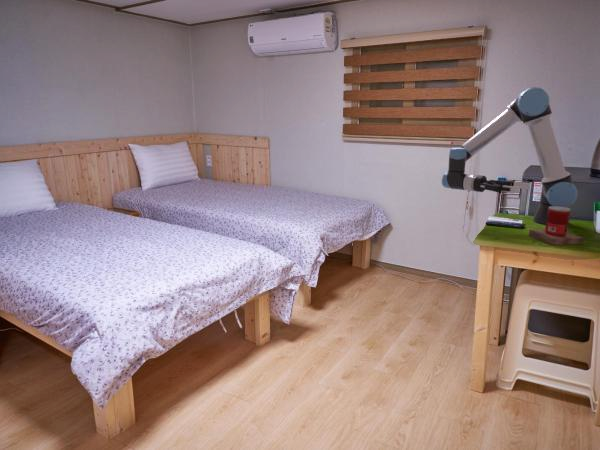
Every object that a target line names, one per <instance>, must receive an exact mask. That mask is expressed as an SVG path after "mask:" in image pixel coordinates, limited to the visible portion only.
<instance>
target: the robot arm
mask: <svg viewBox="0 0 600 450" xmlns="http://www.w3.org/2000/svg"><path fill="white" fill-rule="evenodd" d="M552 115H553V111H552V108H551V105H550V96H549V94H548V93H547V91H545V90H544V89H543V88H540V87H535V86H532V87H529V88H527V89H524V90H523V91H522V92H520V93H519V94H518V96H517V97H516V98H515V99H514V100H513V101H511V103H510V104H508V105H507V107H506V110H504V111H503V112H502V113H500V115H498V116H496V117H495V118H494V119H493V120H491V122H489V123H488V124H486V126H484V127H483V128H481V129H480V130H479V131H478V132H477V133H475V134H474V135H472V137H470V138H469V139H468V140H467V141H465V142H464V143H463V144H461V145H460V146H459V147H451V148H450V149H449V154H448V169H447V172H444V173H443V175H442V178H441V185H442V187H444V188H445V189H452V190H460V191H461V190H463V191H467V192H468V193H470V192H476V193H483V192H484V191H490V192H495V193H498V194H503V193H510V194H516V195H517V194H519V193H520V189H521V190H530V184H531V183H529V182H523V181H521V182H520V181H516V179H513V180H496V179H495V180H494V179H489V180H488V179H487V177H486V175H479V174H478V175H476V174H472V173H471V174H470V173H465V171H466V164H467V163H466V162H468V160H470V159H471V158H472V157H474V155H476V154H478V153H479V152H480V151H481V150H483V149H484V148H485V147H486V146H488V145H489V144H491V143H492V142H493V141H494V140H495V139H497V138H499V136H501V135H502V134H504V133H505V132H506V131H507V130H509V129H510V128H511V127H513V126H514V125H515V124H517V123H519V122H522V123H523V124H524V125H526V126H527V127H528V130H529V133H530V137H531V140H532V143H533V146H534V149H535V153H536V156H537V160H538V162H539V165H540V168H541V172H542V174H543V178H542V179H541V185H542V186H541V193H540V201H539V205H538V207H537V209H536V210H535V214H533V219H532V221H534V222H535V223H538V224H542V225H546V221H547V214H548V208H549V207H550V206H560V207H566V208H569V207H570V206H572V205H573V204H574V203H575V202H576V201H577V199H578V195H579V193H578V189H577V187H576V186H575V183H574V181H573V177H572V175H571V172H568V171H567V170H566V168H565V165H564V161H563V159H562V155H561V153H560V149H559V145H558V143H557V139H556V136H555V133H554V129H553V125H552V123H551V120H550V119H551V116H552ZM569 224H570V222H569V223H568V225H569Z"/></svg>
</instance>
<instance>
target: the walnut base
mask: <svg viewBox="0 0 600 450" xmlns="http://www.w3.org/2000/svg"><path fill="white" fill-rule="evenodd" d="M528 236H529V237H531V238H533V239H536V240H538V241H541V242H543V243H545V244H548V245H550V246H564V245H565V246H566V244H569V245H582V244H583V242H584V237H582V236H579V235H577V234H574V233H570V232H568V231H567V234H566V235H565V236H553V235H549V234H546V233H545V229H529V231H528Z"/></svg>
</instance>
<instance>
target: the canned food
mask: <svg viewBox="0 0 600 450" xmlns="http://www.w3.org/2000/svg"><path fill="white" fill-rule="evenodd" d="M571 211H572V210H571V208H569V207H567V208H566V207H560V206H550V207H549V208H548V214H547V221H546V224H545V227H544V228H545V233H546V234H549V235H553V236H565V235H566V234H567V232H568V227H569V224H570V217H571ZM568 223H569V224H568Z"/></svg>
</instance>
